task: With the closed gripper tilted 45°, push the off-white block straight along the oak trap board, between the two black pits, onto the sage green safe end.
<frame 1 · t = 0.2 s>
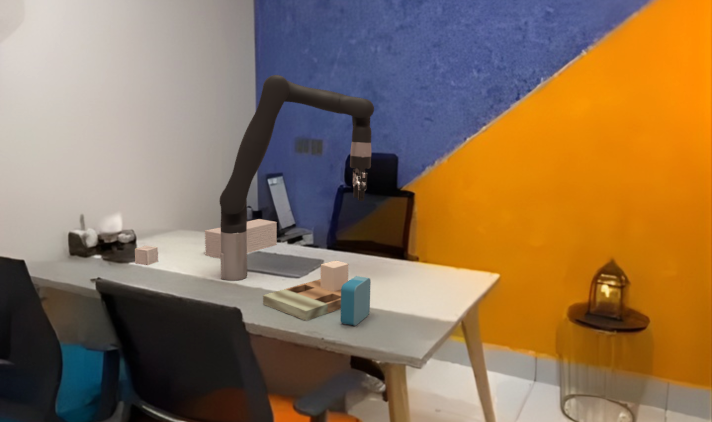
hand: (358, 199, 216), 29 cm above the table, tool pointing down, fingers open, 8 cm apart
trap board: (314, 302, 190), on the table
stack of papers: (242, 250, 254), on the table
pale pink cube: (146, 263, 231), on the table
block: (334, 287, 196), point 3 cm above the table, touching trap board
data package: (355, 320, 176), on the table
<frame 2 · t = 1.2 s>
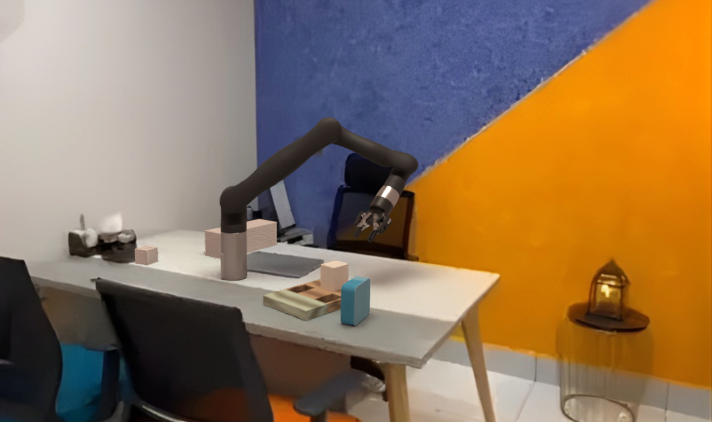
hand: (361, 239, 203), 17 cm above the table, tool tilted 45°, fingers open, 6 cm apart
nothing on the table moved.
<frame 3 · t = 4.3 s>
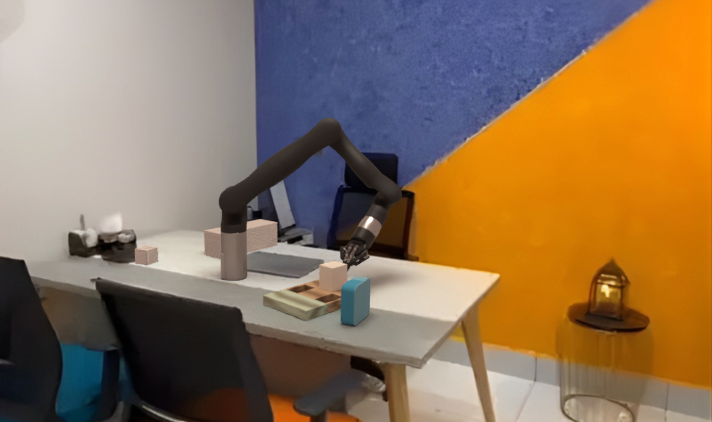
hand: (341, 273, 198), 7 cm above the table, tool tilted 45°, fingers closed
block: (333, 287, 195), point 3 cm above the table, touching gripper
everything else where it was.
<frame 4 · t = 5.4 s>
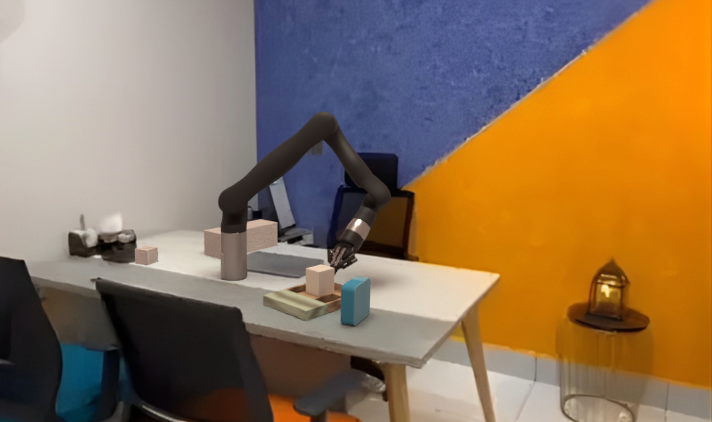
hand: (328, 276, 193), 7 cm above the table, tool tilted 45°, fingers closed
block: (320, 291, 191), point 3 cm above the table, touching trap board
everything else where it was.
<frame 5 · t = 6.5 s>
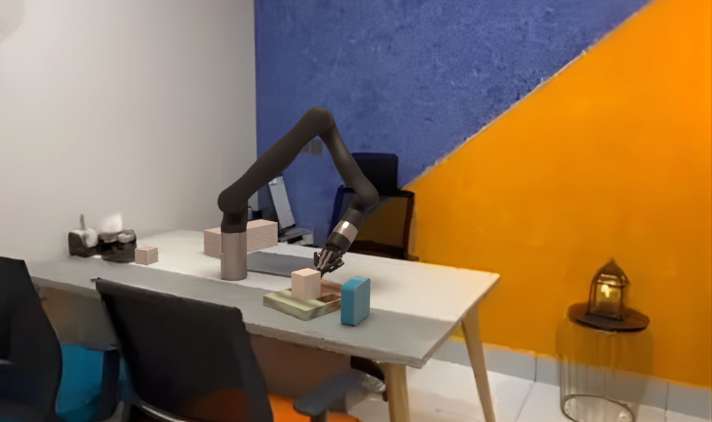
hand: (314, 280, 189), 7 cm above the table, tool tilted 45°, fingers closed
block: (305, 296, 186), point 3 cm above the table
everything else where it was.
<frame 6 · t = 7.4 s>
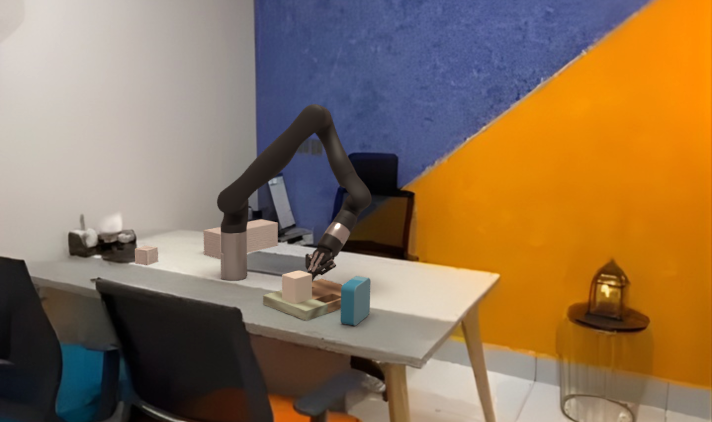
hand: (306, 282, 186), 7 cm above the table, tool tilted 45°, fingers closed
block: (297, 299, 184), point 3 cm above the table, touching gripper, trap board
everything else where it was.
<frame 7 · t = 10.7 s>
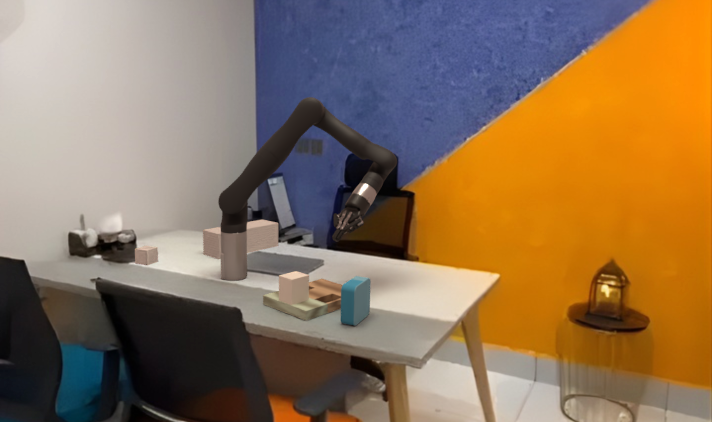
hand: (335, 240, 193), 19 cm above the table, tool tilted 45°, fingers closed
block: (293, 300, 183), point 3 cm above the table, touching trap board
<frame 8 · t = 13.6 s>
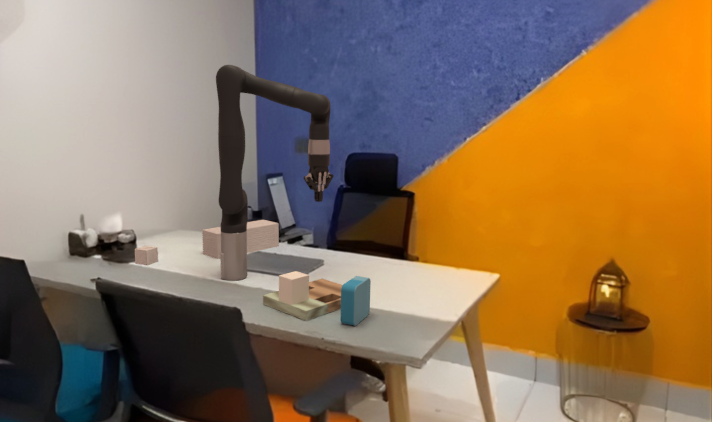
hand: (318, 201, 208), 29 cm above the table, tool pointing down, fingers closed
at the end: block inside the target area (0.9 cm from its centre), point 3.0 cm above the table; block tilted 0°; block moved 18.2 cm from its start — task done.
